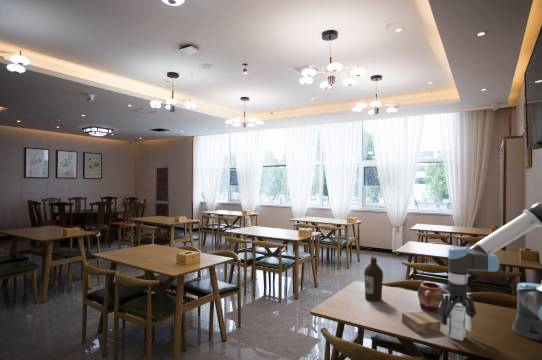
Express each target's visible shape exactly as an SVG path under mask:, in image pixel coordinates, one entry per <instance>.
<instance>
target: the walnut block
mask: <svg viewBox="0 0 542 360" xmlns="http://www.w3.org/2000/svg"><path fill="white" fill-rule="evenodd" d="M401 323H402V324H403V325H404V326H406V327H407V328H408V329H411V330H412V331H413V332H415V333H416V334H418V335H420V334H428V333H429V334H430V333H438V332H441V321H440V320H438V319H436V318H435V317H434V316H432V315H430V314H428V313H426V312H425V311H424V310H423V311H413V312H412V311H411V312H404V313H403V312H402V313H401Z"/></svg>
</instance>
